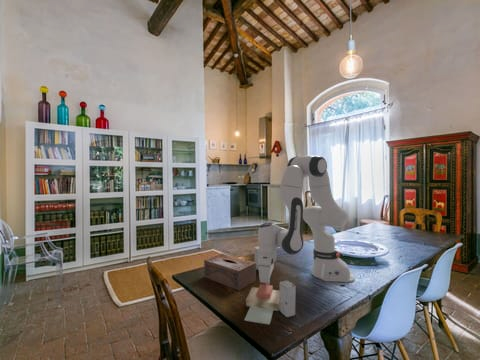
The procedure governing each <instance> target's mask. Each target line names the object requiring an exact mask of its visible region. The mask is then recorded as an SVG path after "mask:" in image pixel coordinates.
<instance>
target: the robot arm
mask: <svg viewBox="0 0 480 360" xmlns="http://www.w3.org/2000/svg"><path fill="white" fill-rule="evenodd" d="M327 169H328V163H327V161H326V159H325V158H324V156H321V155H309V154H308V155H301V156H294V157H291V158H290V159H289V160H288V162H287V166H286V168H285V169H284V171H283V175H282V177H281V178H282V179H281V181H280V182H281V183H280V188H279V198H280V200H281V202H282V203H283V204H284V205H285V207H287V209H288V213H289V215H288V228H285V227H281V226H279V225H277V224H276V223H274V222H271V221H269V222H267V221H266V222H263V223H262V224H260V225H259V228H258V231H257V243H258V247H259V248H258V261H257V264H258V265H259V270H258V276H259V282H260V284H264V285H270V284H271V283H270V282H271V276H272V272H273V270H274V268H275V267H274V266H275V264H274V263H275V262H277V249H278V248H280V249H281V250H283V251H284V252H285V253H286V254H289V255H290V256H291V255H292V256H295V255H297V254H298V253H301V251H302V249H303V247H304V237H303V222H305V223H306V224H307V225H308V227H309V228H310V229H311V233H312V237H313V245H314V246H313V252H312V255H313V264H312V269H311V275H313V277H315V278H318V279H320V280H322V281H324V282H340V283H341V282H342V283H345V282H347V283H353V282H354V281H355V276H354V274H353V272H351V271H350V267H349V265H348V264H347V263H346V262H345V261H344V260H343V259H341V258H340V257H341V254H340V253H339V252H338V250H335V249H336V247H335V244H336V243H335V236H334V235H333V234H332V233H331V232H329V231H328V230H327V228H326V227H329V228H344V227H345V226H346V225H347V223H348V220H349V216H348V213H347V211H346V210H344V209H343V208H342V207H341V206H339V204H338V203H337V202H336V200H335V198H334V197H333V194H332V193H333V192H332V189H331V183H330V182H331V181H330V177H329V173H328V171H327ZM307 177H308V186H309V193H310V198H311V200H312V201H313V202H315V203H317V204H318V205H311V206H305V207H304V204H303V189H304V179H305V178H307Z"/></svg>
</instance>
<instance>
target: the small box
mask: <svg viewBox="0 0 480 360" xmlns="http://www.w3.org/2000/svg"><path fill="white" fill-rule="evenodd" d="M258 248H259V246H256V247H254V262H255V263H256V271H259V265H258V264H257V261H258Z"/></svg>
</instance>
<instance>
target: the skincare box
mask: <svg viewBox="0 0 480 360" xmlns="http://www.w3.org/2000/svg"><path fill="white" fill-rule="evenodd" d="M296 288H297V286H296V285H295V284H294V283H293V282H290V281H289V280H284V281H279V310H278V311H280V313H281V314H282V315H283V316H285V317H286V318H289V317H293V316H295V315H296V297H297V295H296V290H297V289H296Z"/></svg>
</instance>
